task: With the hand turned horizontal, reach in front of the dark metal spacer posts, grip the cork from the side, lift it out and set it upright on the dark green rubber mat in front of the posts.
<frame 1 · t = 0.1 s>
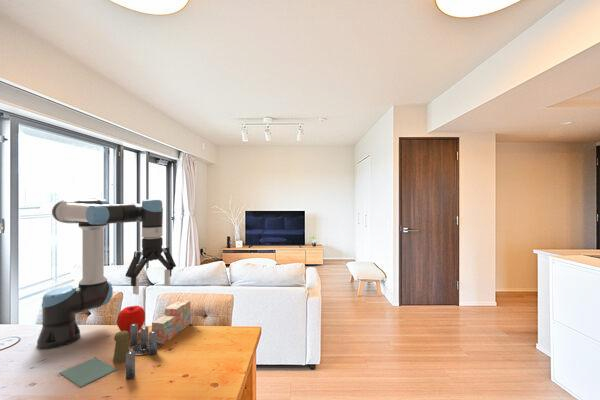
hand: (152, 289, 119), 28 cm above the table, tool pointing down, fingers open, 13 cm apart
cork: (121, 359, 118), on the table
mat: (88, 371, 109), on the table
spacer posts: (139, 350, 124), on the table
apple: (131, 335, 139), on the table
stack of blocks: (172, 333, 141), on the table
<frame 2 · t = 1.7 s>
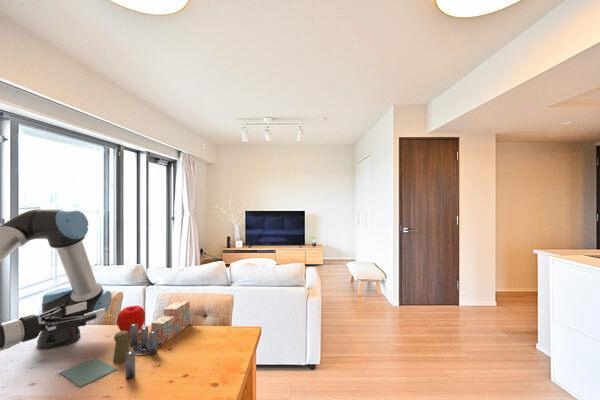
hand: (95, 308, 109), 24 cm above the table, tool horizontal, fingers open, 13 cm apart
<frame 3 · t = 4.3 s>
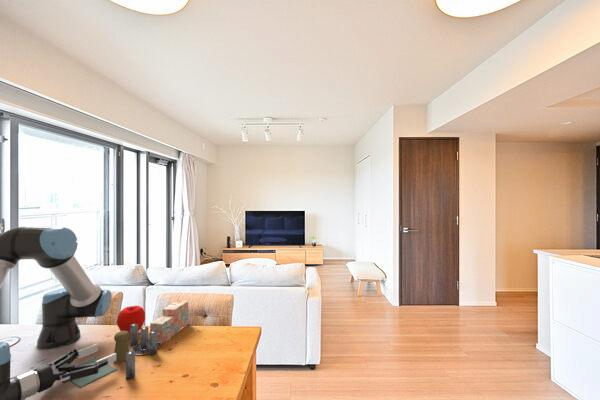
hand: (106, 351, 112), 6 cm above the table, tool horizontal, fingers open, 13 cm apart
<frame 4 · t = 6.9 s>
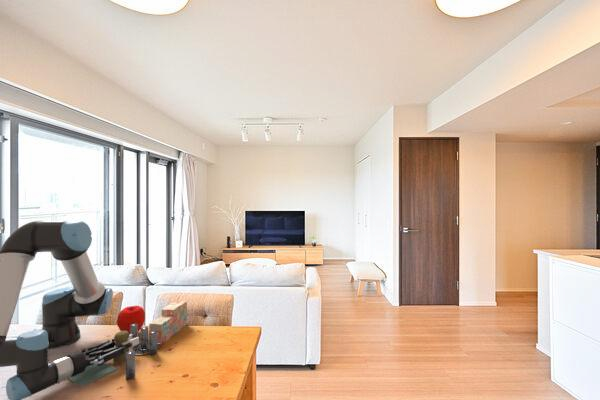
hand: (134, 338, 122), 6 cm above the table, tool horizontal, fingers closed on cork, 4 cm apart
cork: (121, 359, 118), on the table, touching gripper
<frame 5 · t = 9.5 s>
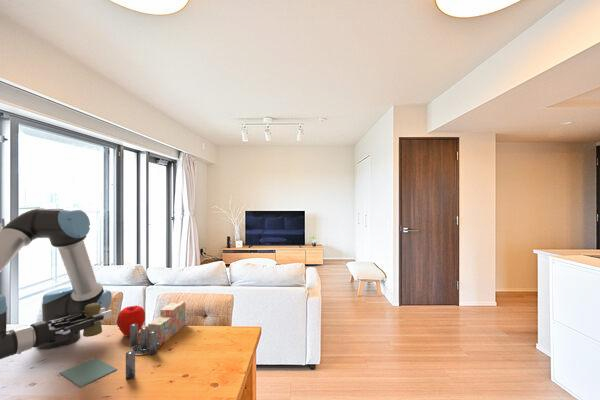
hand: (107, 312, 115), 20 cm above the table, tool horizontal, fingers closed on cork, 4 cm apart
cork: (92, 333, 110), point 14 cm above the table, touching gripper
when the fingers open (7 cm above the table, at t = 12.3 s): cork moves 5 cm, resting on mat.
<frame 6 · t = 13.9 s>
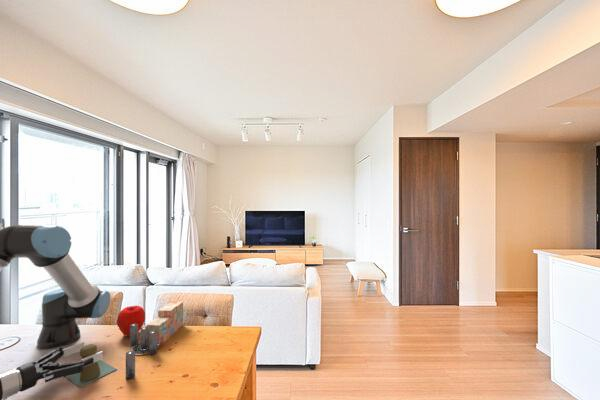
hand: (92, 350, 110), 8 cm above the table, tool horizontal, fingers open, 13 cm apart
cork: (90, 376, 106), resting on mat, touching gripper
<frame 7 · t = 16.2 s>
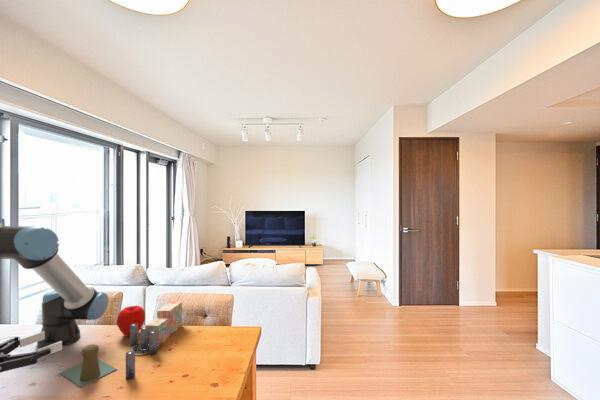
hand: (52, 339, 100), 16 cm above the table, tool horizontal, fingers open, 13 cm apart
cork: (90, 377, 106), resting on mat
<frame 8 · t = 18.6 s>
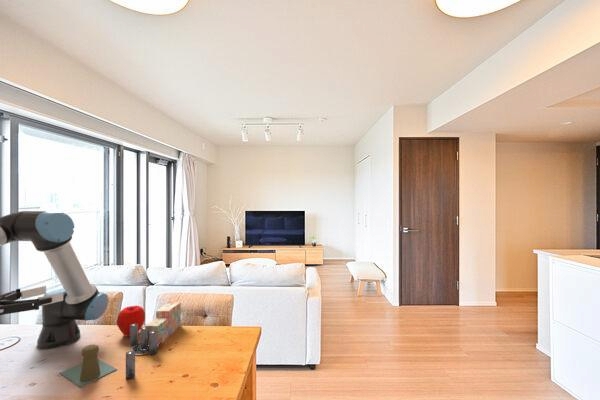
hand: (54, 292, 102), 32 cm above the table, tool horizontal, fingers open, 13 cm apart
at the end: cork inside the target area on the mat (4.9 cm from its centre), point 0.2 cm above the mat's base; cork tilted 0°; the gripper is holding nothing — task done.
